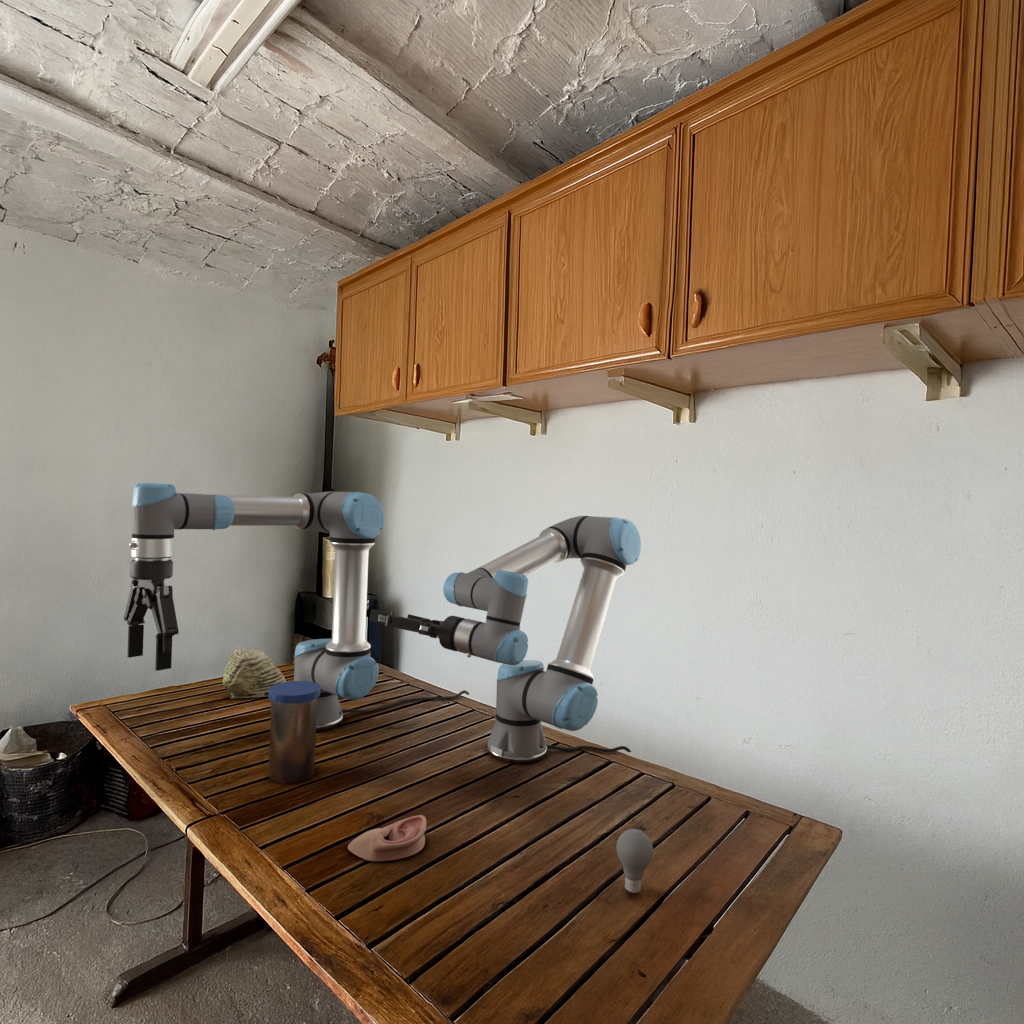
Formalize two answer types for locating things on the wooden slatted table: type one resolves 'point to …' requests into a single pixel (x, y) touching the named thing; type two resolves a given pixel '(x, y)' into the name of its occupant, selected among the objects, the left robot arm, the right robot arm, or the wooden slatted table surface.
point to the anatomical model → (391, 840)
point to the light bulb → (634, 857)
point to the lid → (294, 692)
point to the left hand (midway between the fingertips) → (148, 662)
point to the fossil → (250, 673)
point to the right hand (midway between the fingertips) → (390, 617)
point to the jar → (292, 741)
